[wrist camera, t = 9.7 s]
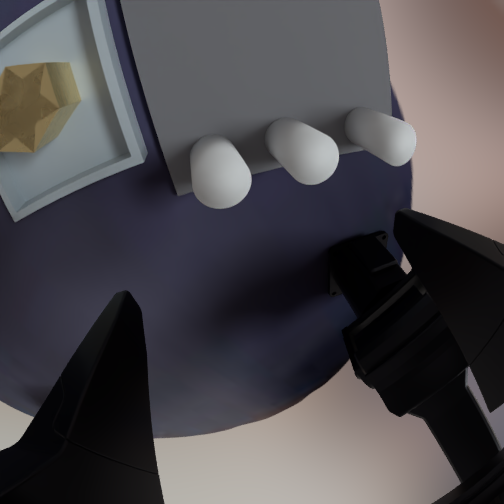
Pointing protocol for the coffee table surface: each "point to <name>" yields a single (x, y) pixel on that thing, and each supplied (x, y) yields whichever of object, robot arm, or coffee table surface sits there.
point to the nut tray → (85, 115)
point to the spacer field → (264, 89)
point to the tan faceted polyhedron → (35, 104)
